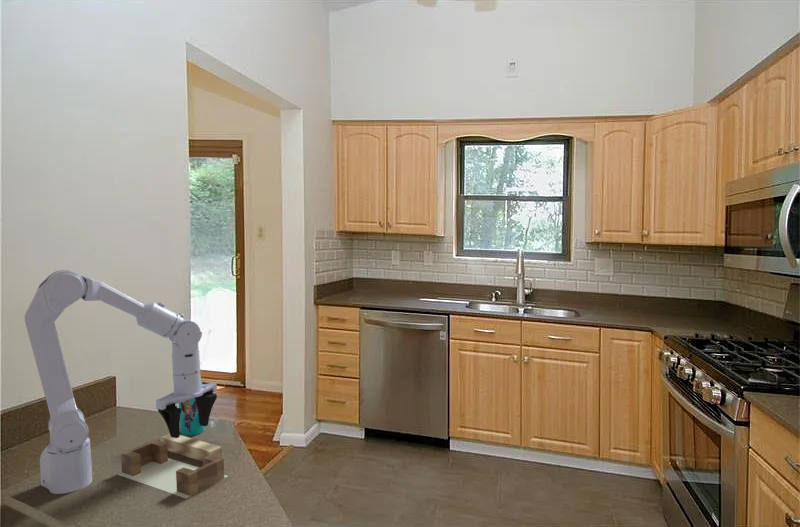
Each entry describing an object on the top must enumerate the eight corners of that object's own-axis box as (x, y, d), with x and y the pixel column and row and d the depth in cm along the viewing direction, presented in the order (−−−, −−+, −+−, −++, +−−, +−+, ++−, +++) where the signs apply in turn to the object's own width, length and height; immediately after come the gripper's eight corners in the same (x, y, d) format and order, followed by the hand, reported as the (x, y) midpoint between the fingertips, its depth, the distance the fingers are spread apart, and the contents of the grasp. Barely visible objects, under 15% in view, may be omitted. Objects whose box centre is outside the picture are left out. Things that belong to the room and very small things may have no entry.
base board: (117, 478, 104) (117, 474, 104) (161, 460, 113) (160, 455, 113) (186, 503, 93) (185, 498, 93) (228, 480, 102) (228, 475, 102)
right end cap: (176, 491, 96) (175, 470, 96) (211, 474, 103) (210, 455, 103) (190, 495, 94) (189, 475, 94) (224, 478, 101) (223, 458, 101)
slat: (161, 453, 117) (160, 436, 117) (172, 448, 120) (171, 432, 120) (211, 469, 108) (210, 451, 108) (222, 464, 111) (221, 446, 110)
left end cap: (121, 472, 105) (120, 453, 105) (156, 457, 112) (155, 440, 112) (133, 476, 103) (132, 457, 103) (168, 460, 110) (167, 443, 110)
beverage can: (178, 441, 124) (175, 381, 123) (182, 433, 129) (179, 376, 129) (203, 438, 125) (200, 379, 125) (205, 430, 131) (203, 373, 130)
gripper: (169, 382, 105) (172, 445, 105) (224, 366, 117) (227, 423, 118) (148, 378, 108) (152, 440, 109) (204, 363, 121) (207, 418, 122)
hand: (189, 430), depth 114 cm, fingers open, 7 cm apart
